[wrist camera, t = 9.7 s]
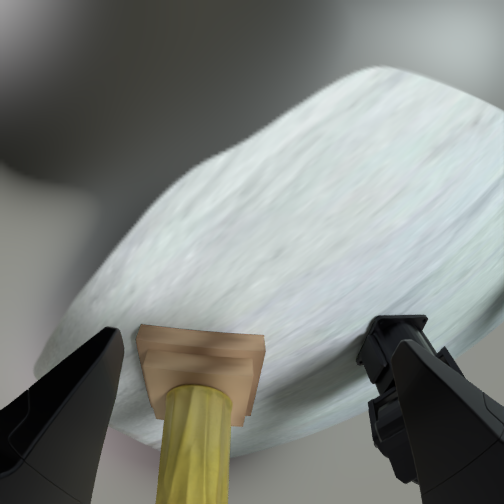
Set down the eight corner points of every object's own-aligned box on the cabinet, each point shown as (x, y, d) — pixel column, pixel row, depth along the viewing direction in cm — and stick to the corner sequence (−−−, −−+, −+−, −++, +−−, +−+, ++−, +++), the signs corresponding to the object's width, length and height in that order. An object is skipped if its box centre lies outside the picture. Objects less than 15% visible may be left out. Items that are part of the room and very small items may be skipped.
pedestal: (263, 335, 25) (267, 369, 22) (249, 401, 30) (251, 430, 27) (141, 324, 24) (129, 356, 21) (154, 393, 29) (148, 421, 26)
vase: (172, 375, 22) (149, 541, 9) (242, 392, 23) (248, 550, 10) (161, 408, 24) (142, 541, 12) (221, 422, 25) (220, 551, 13)
